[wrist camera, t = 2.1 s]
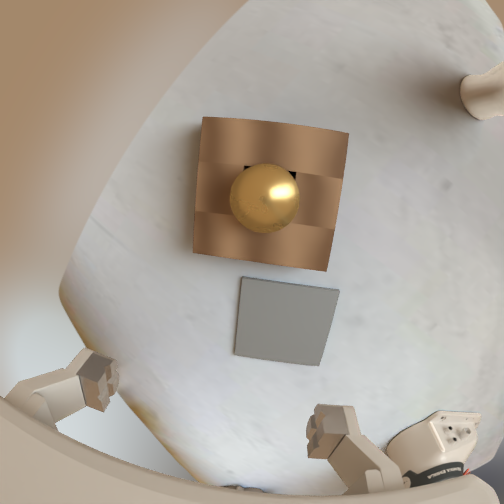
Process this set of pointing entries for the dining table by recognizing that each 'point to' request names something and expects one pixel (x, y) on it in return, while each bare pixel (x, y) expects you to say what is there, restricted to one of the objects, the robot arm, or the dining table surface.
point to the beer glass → (484, 93)
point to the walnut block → (287, 156)
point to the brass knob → (265, 198)
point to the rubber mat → (284, 321)
